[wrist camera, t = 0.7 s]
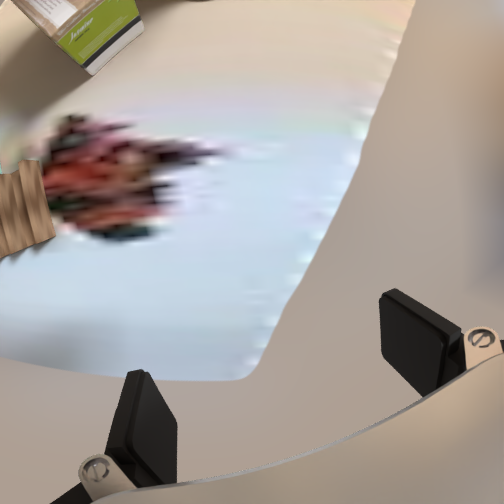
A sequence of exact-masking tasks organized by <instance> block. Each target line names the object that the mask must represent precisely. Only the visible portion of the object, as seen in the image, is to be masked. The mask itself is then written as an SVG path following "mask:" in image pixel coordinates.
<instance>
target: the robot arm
mask: <svg viewBox="0 0 504 504" xmlns="http://www.w3.org/2000/svg"><path fill="white" fill-rule="evenodd" d="M379 309H380V329H381V352H382V355H383V357H384V359H385V360H386V361H387V362H388V363H389V364H390V365H391V366H392V367H393V368H394V369H395V370H396V371H397V372H398V373H400V375H401V376H402V377H403V378H404V379H405V380H406V381H407V382H408V383H409V384H410V385H411V386H412V387H413V388H414V389H415V390H416V391H417V392H418V393H419V394H420V395H421V396H422V397H423V398H421V399H420V400H418V401H416V402H415V403H413V404H411V405H409V406H408V407H406V408H404V409H402V410H400V411H398V412H397V413H395V414H393V415H391V416H389V417H387V418H385V419H383V420H381V421H379V422H377V423H375V424H373V425H371V426H369V427H366V428H364V429H362V430H360V431H358V432H356V433H353V434H351V435H349V436H346V437H344V438H342V439H339V440H337V441H334V442H332V443H330V444H327V445H324V446H322V447H319V448H316V449H314V450H311V451H308V452H305V453H302V454H299V455H296V456H293V457H290V458H287V459H284V460H281V461H277V462H274V463H270V464H267V465H264V466H260V467H256V468H252V469H248V470H244V471H240V472H235V473H231V474H226V475H221V476H216V477H211V478H206V479H200V480H194V481H188V482H182V483H177V422H176V419H175V417H174V416H173V414H172V412H171V411H170V409H169V407H168V406H167V404H166V402H165V400H164V399H163V397H162V395H161V394H160V392H159V390H158V388H157V386H156V385H155V383H154V381H153V379H152V377H151V375H150V374H149V372H144V371H143V370H142V369H139V370H135V371H130V372H128V373H127V376H126V379H125V383H124V386H123V389H122V392H121V396H120V400H119V403H118V406H117V409H116V411H115V415H114V418H113V422H112V426H111V430H110V433H109V437H108V441H107V445H106V449H105V453H104V454H97V455H93V456H91V457H89V458H87V459H86V460H85V461H84V462H83V463H82V464H81V466H80V468H79V471H78V476H79V479H80V481H81V482H80V483H79V484H77V485H76V486H75V487H73V488H72V489H70V490H69V491H68V492H66V493H65V494H63V495H62V496H60V497H59V498H58V499H56V500H55V501H53V502H52V503H50V504H504V340H500V339H499V336H498V334H497V332H496V331H494V330H493V329H491V328H489V327H482V326H481V327H480V326H479V327H474V328H472V329H470V330H468V331H467V332H466V333H465V335H464V334H462V333H461V328H460V327H458V326H456V325H455V324H453V323H452V322H450V321H449V320H447V319H445V318H444V317H442V316H440V315H439V314H437V313H435V312H434V311H432V310H431V309H429V308H428V307H426V306H424V305H423V304H421V303H419V302H418V301H416V300H414V299H413V298H411V297H409V296H408V295H406V294H404V293H403V292H401V291H399V290H398V289H395V288H394V289H391V290H389V291H387V292H384V293H383V294H382V297H381V298H380V299H379Z"/></svg>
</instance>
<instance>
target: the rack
mask: <svg viewBox="0 0 504 504" xmlns="http://www.w3.org/2000/svg"><path fill="white" fill-rule="evenodd" d="M18 165H19V170H17V171H15V172H13V173H12V174H0V258H2V257H4V256H6V255H9V254H13V253H15V252H17V251H19V250H22V249H24V248H26V247H28V246H31V245H33V244H38V243H40V242H43V241H45V240H47V239H50V238H52V237H54V236H56V234H55V231H54V227H53V223H52V220H51V216H50V212H49V208H48V204H47V200H46V195H45V191H44V186H43V181H42V176H41V171H40V165H39V161H33V160H21V161H20V162H18Z"/></svg>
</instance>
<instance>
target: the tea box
mask: <svg viewBox="0 0 504 504" xmlns="http://www.w3.org/2000/svg"><path fill="white" fill-rule="evenodd" d="M11 1H12V2H13V3H14V4H15V5H16V6H17V7H18V8H19V9H20V10H21V11H22V12H23V13H24V14H25V15H26V16H27V17H28V18H29V19H30V20H31V21H32V22H33V23H34V24H35V25H36V26H37V27H38V28H39V29H40V30H42V31H43V32H44V33H45V34H46V35H47V36H48V37H49V38H50V39H51V40H52V41H53V42H54V43H55V44H57V45H58V46H59V47H60V48H61V49H62V50H63V51H64V52H66V53H67V54H68V55H69V56H70V57H71V58H72V59H73V60H75V61H76V62H77V63H78V64H79V65H80V66H81V67H82V68H84V69H85V70H86V71H87V72H88V73H89V74H90V75H92V76H93V75H95V74H96V73H97V72H98V71H99V70H100V69H101V68H102V67H103V66H104V65H105V64H106V63H107V62H108V61H110V60H111V59H112V58H113V57H114V56H115V55H116V54H117V53H118V52H120V51H121V50H122V49H123V48H124V47H125V46H127V45H128V44H129V43H130V42H131V41H133V40H134V39H135V38H136V37H137V36H139V35H140V34H141V33H142V32H143V31H145V29H144V25H143V22H142V20H141V17H140V14H139V11H138V8H137V6H136V3H135V0H11Z"/></svg>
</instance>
